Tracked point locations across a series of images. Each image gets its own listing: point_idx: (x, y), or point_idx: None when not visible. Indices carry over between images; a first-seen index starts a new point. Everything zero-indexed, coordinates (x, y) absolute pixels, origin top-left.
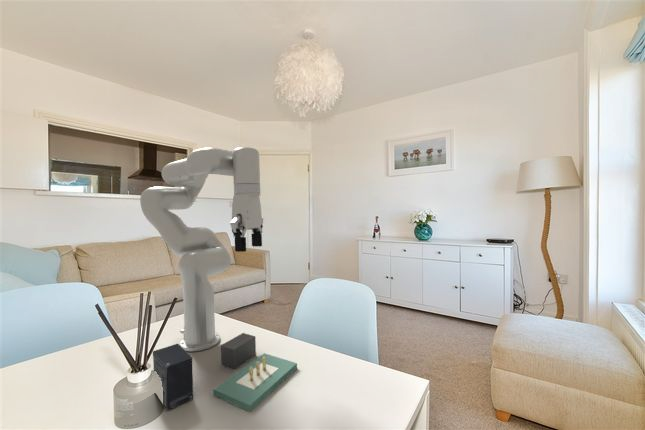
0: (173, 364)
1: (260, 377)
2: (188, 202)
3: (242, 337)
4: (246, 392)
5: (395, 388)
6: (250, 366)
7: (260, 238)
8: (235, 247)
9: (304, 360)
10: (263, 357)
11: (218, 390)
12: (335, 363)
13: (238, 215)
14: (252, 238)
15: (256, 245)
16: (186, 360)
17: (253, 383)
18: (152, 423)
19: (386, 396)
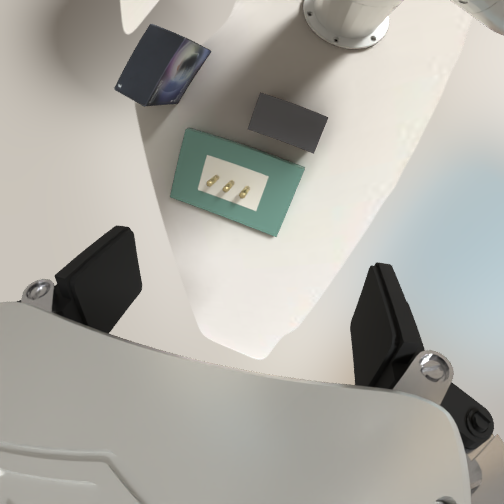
0: (122, 93)
1: None
2: None
3: (304, 125)
4: (189, 181)
5: (251, 340)
6: (210, 182)
7: (355, 371)
8: (104, 238)
9: (303, 241)
10: (241, 194)
11: (184, 138)
12: (297, 286)
13: None
14: (381, 313)
15: (360, 300)
16: (137, 102)
17: None
18: None
19: (235, 331)
